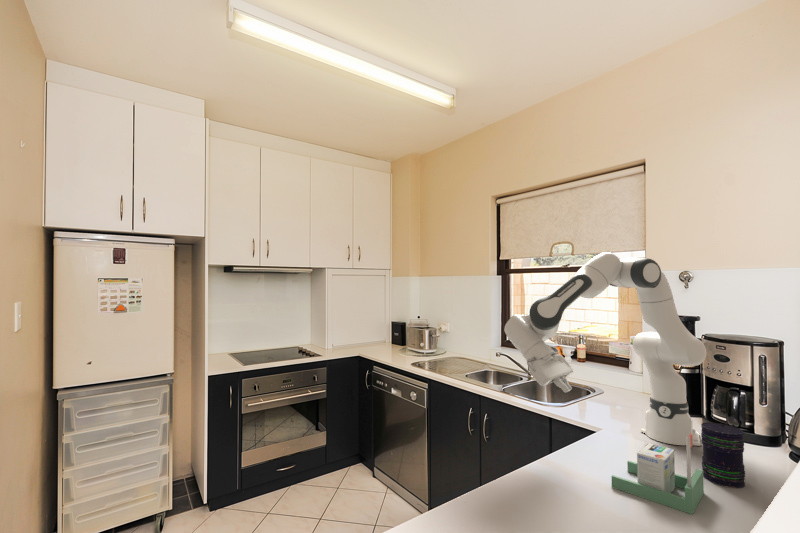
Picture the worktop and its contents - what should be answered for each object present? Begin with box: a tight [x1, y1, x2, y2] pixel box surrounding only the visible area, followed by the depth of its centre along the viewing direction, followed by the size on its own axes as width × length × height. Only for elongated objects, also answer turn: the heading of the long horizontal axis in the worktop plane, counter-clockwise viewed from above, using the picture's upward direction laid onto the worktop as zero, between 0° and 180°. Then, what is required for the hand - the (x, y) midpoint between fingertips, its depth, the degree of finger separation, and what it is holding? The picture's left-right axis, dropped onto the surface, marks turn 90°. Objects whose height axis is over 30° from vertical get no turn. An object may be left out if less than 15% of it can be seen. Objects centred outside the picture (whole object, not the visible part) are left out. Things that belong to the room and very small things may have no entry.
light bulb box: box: [636, 443, 676, 494], centre depth 111 cm, size 11×7×11 cm, turn 133°
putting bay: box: [611, 433, 705, 515], centre depth 111 cm, size 15×18×18 cm
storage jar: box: [700, 421, 746, 489], centre depth 117 cm, size 10×10×15 cm
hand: (568, 390), depth 129 cm, fingers closed
